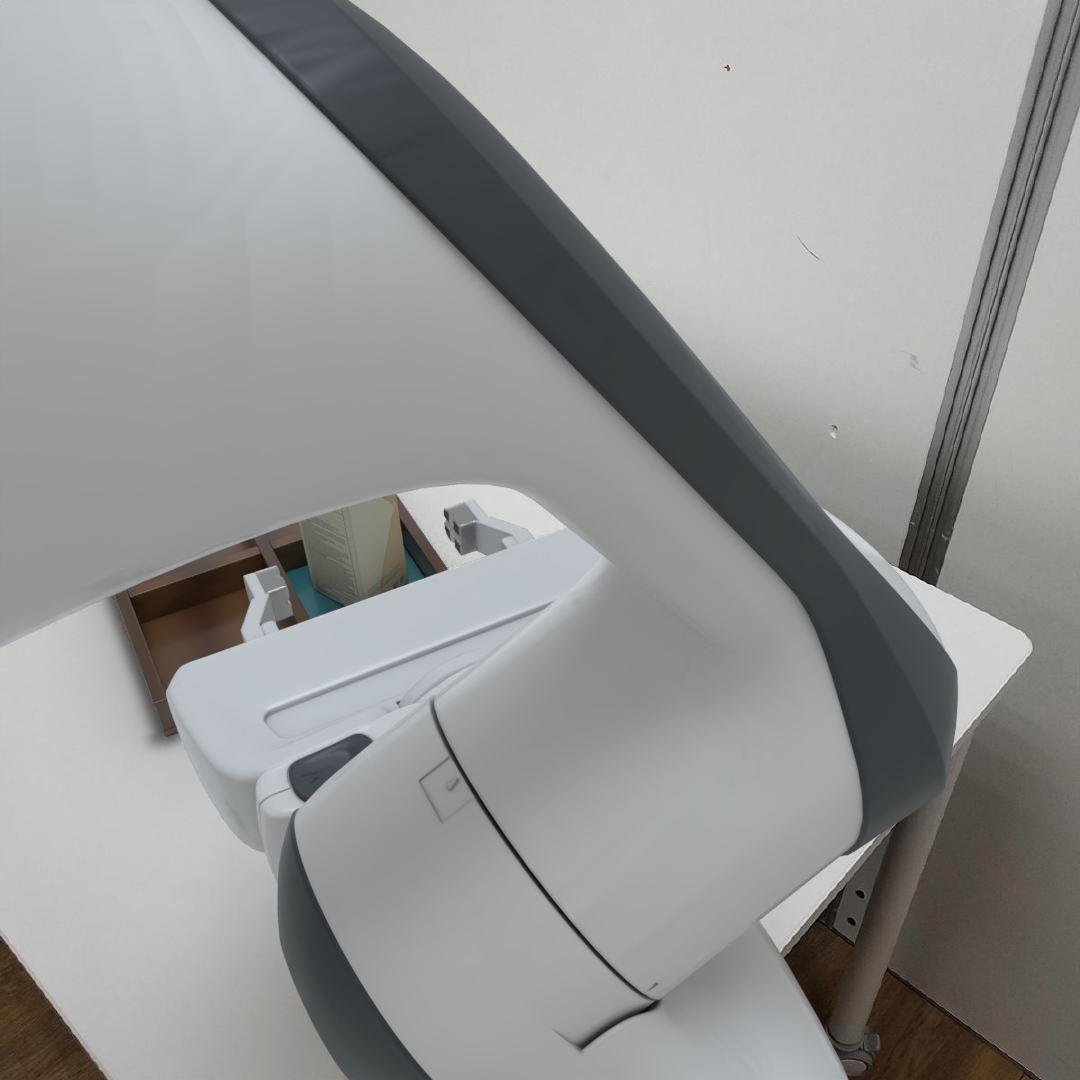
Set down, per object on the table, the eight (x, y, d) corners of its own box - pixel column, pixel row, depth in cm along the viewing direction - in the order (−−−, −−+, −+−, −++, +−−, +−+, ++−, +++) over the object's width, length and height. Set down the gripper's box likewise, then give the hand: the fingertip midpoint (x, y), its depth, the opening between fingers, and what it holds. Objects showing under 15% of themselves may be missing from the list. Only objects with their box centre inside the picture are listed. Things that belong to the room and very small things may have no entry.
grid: (165, 736, 65) (153, 703, 63) (95, 541, 78) (83, 508, 76) (464, 621, 72) (462, 588, 70) (355, 459, 85) (350, 427, 83)
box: (410, 582, 74) (395, 448, 66) (367, 620, 71) (345, 486, 64) (352, 551, 76) (330, 418, 69) (307, 587, 74) (280, 453, 66)
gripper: (742, 614, 43) (565, 424, 52) (218, 833, 35) (118, 568, 44) (723, 718, 47) (563, 526, 56) (251, 933, 40) (154, 673, 49)
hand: (362, 546), depth 50 cm, fingers open, 8 cm apart
